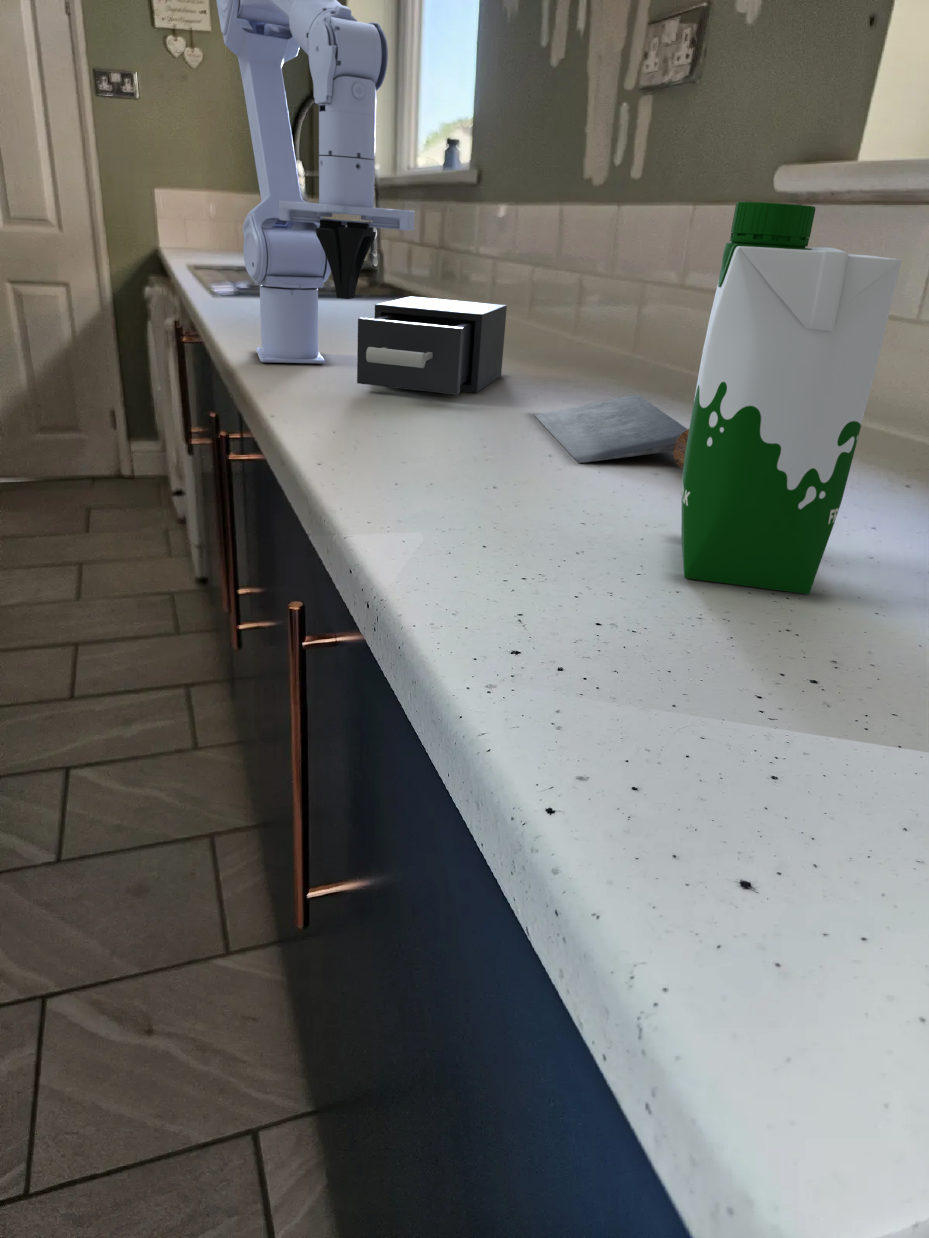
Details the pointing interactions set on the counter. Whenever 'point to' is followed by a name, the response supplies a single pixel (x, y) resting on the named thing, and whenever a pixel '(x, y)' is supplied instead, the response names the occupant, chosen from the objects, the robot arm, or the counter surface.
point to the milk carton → (779, 399)
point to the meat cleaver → (616, 430)
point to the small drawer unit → (485, 333)
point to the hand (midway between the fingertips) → (345, 298)
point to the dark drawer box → (415, 352)
